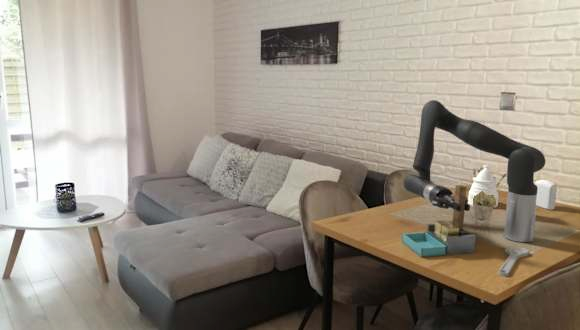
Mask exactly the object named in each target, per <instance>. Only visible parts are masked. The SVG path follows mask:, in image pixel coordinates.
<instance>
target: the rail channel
mask: <svg viewBox="0 0 580 330" xmlns="http://www.w3.org/2000/svg"><path fill="white" fill-rule="evenodd" d="M450 223H451V224H453V222H450ZM434 231H435V223H427V224H426V231H425V232H426V233H427V234H429V235H430V236H432V237H433V238H435V239H436V240H438V241H439V242H441V243H442V244H444V245H445V246H447V250H446V255H445V256H452V255H462V254H463V255H464V254H474V253H475V247H476V235H475V234H469V235H463V236H450V237H447V239H445V238H443V237H442V236H440V235H438V234H437V233H435V232H434Z"/></svg>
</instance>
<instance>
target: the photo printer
mask: <svg viewBox="0 0 580 330" xmlns="http://www.w3.org/2000/svg"><path fill="white" fill-rule="evenodd" d="M534 184H535V185H536V186H537V188H538V190H537V198H536V206H537V207H540V208H542V209H545V210H549V211H552V210H554V209H555V208H556V199H557V190H558V186H557V185H556V184H555V183H554V182H552V181H550V180H546V179H538V180H536V181H534Z"/></svg>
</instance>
